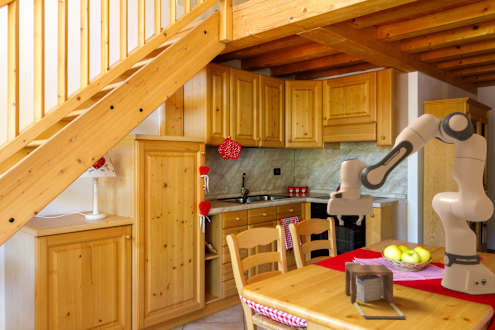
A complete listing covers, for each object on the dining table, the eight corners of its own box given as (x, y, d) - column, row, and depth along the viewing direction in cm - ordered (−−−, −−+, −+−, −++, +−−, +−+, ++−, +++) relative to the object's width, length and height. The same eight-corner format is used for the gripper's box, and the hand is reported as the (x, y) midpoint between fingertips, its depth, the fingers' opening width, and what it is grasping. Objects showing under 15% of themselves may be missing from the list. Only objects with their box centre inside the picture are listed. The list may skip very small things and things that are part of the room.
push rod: (361, 278, 168) (361, 262, 168) (374, 292, 150) (374, 274, 150) (343, 278, 168) (343, 262, 168) (353, 292, 150) (353, 274, 150)
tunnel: (383, 294, 149) (383, 264, 148) (393, 303, 139) (393, 272, 138) (345, 293, 149) (345, 264, 149) (351, 303, 139) (351, 272, 139)
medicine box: (373, 296, 147) (373, 273, 146) (381, 300, 142) (381, 277, 142) (356, 298, 144) (356, 276, 144) (364, 302, 140) (364, 279, 139)
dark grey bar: (403, 317, 126) (403, 316, 126) (405, 319, 125) (405, 318, 125) (364, 317, 127) (364, 315, 127) (365, 319, 125) (365, 317, 125)
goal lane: (392, 304, 138) (392, 303, 138) (404, 317, 127) (404, 315, 127) (353, 304, 138) (353, 302, 138) (362, 316, 127) (362, 315, 127)
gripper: (371, 193, 174) (371, 223, 174) (326, 193, 175) (326, 223, 175) (375, 194, 168) (375, 226, 168) (329, 194, 168) (329, 225, 169)
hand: (350, 224), depth 171 cm, fingers open, 6 cm apart
